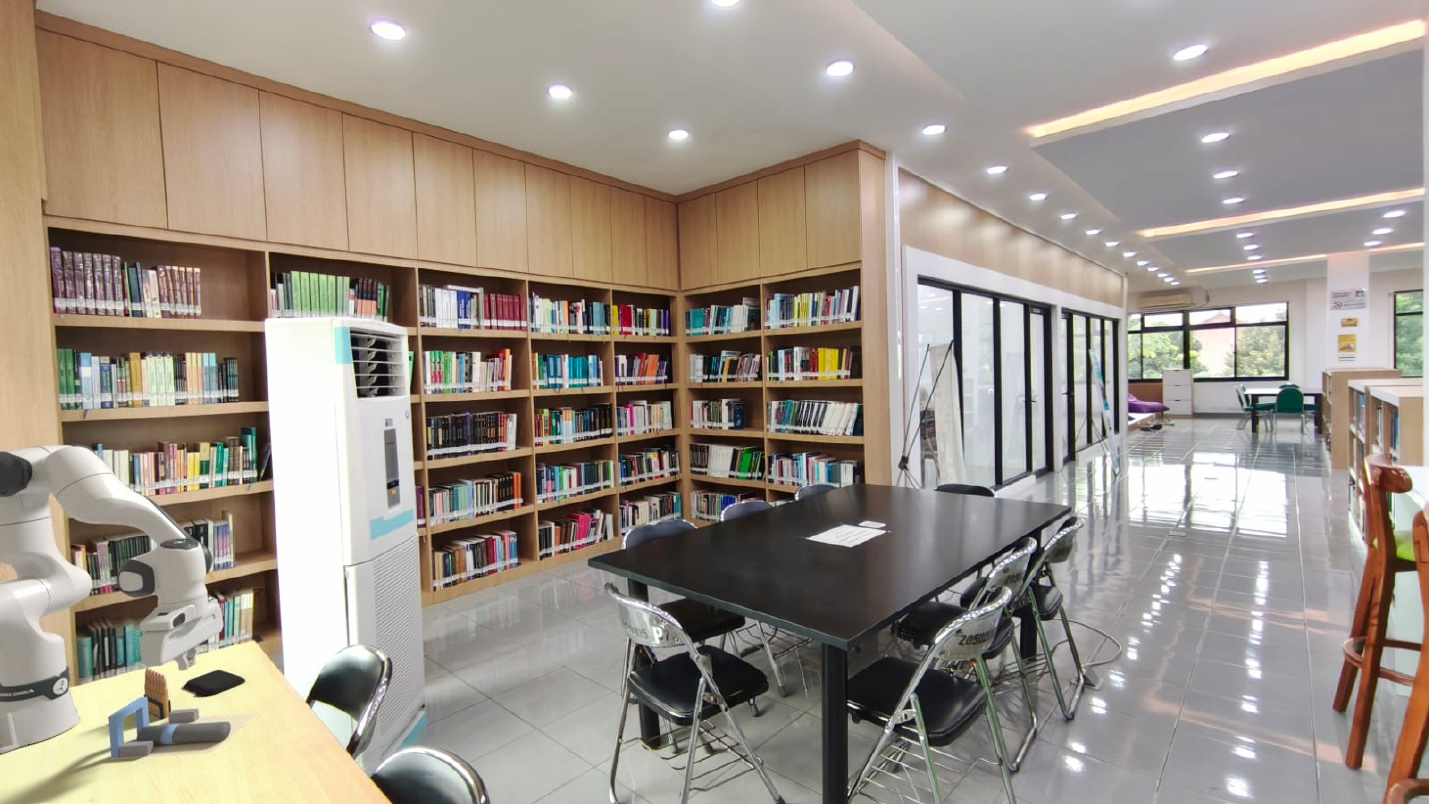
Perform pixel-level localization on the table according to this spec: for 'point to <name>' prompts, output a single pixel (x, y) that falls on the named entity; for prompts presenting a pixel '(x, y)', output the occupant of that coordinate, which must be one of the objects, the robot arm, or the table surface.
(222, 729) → the gray banded cylinder
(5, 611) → the robot arm
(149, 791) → the table surface
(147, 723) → the blue arch frame
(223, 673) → the carrying case or bag
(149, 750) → the beige base board
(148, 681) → the ammunition clip
